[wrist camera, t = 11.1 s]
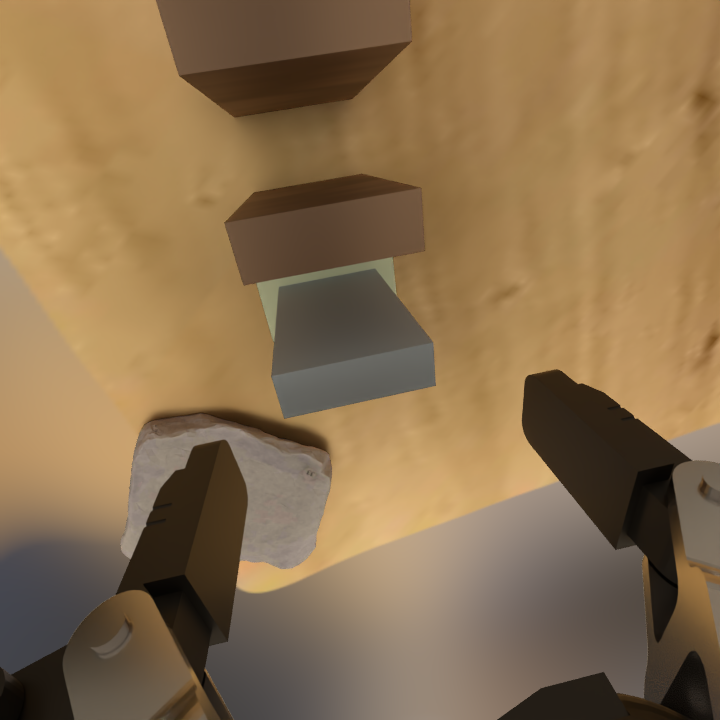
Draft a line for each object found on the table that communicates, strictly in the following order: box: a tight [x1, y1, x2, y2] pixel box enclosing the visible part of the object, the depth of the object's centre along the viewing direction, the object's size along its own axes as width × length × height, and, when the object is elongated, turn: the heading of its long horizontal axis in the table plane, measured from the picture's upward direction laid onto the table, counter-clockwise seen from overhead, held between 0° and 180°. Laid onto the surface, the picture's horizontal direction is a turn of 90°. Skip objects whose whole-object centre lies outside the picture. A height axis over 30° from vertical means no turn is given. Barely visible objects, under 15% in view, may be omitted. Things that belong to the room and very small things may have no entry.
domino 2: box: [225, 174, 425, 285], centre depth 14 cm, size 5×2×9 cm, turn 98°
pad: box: [256, 257, 397, 342], centre depth 20 cm, size 7×4×1 cm, turn 98°
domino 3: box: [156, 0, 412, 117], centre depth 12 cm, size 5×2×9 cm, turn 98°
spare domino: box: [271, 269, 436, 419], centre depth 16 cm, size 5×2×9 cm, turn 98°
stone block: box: [121, 413, 332, 569], centre depth 23 cm, size 12×5×10 cm
